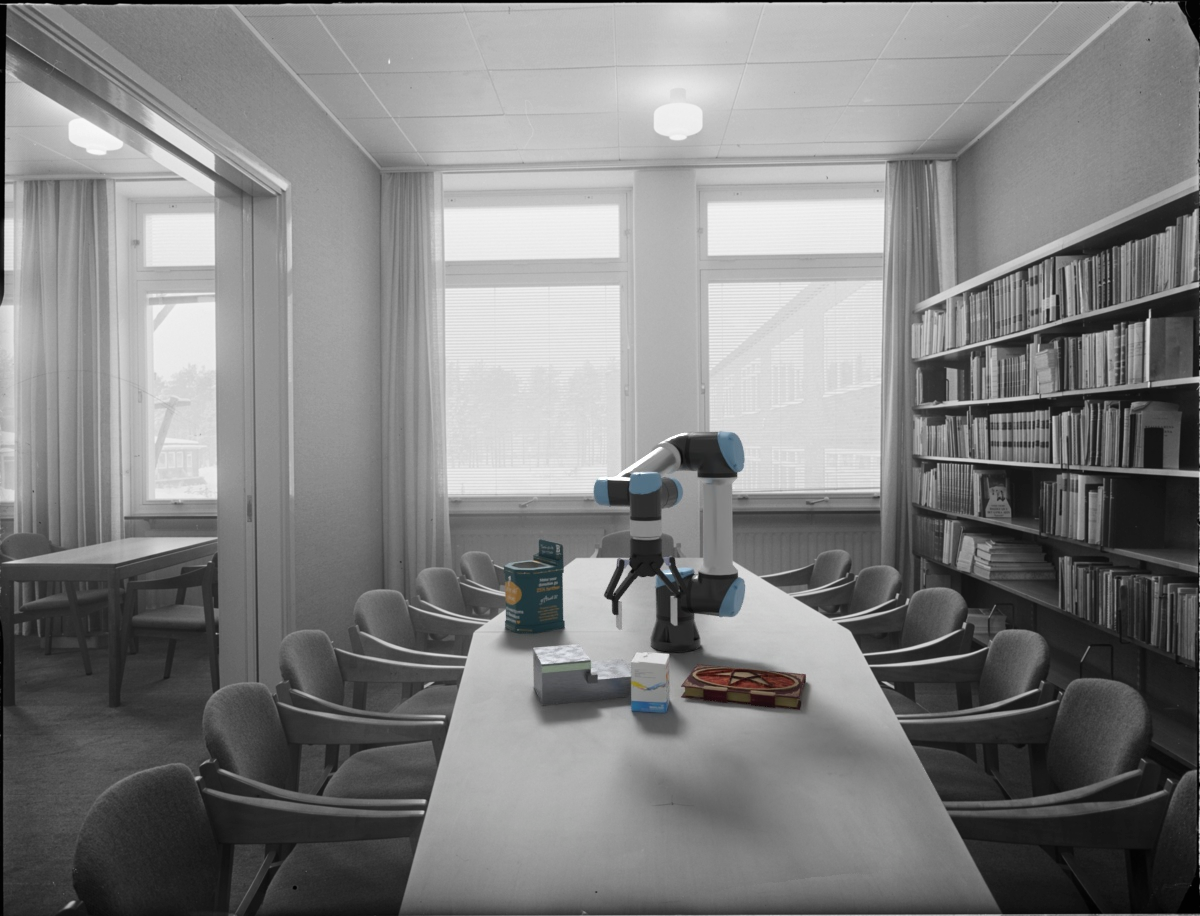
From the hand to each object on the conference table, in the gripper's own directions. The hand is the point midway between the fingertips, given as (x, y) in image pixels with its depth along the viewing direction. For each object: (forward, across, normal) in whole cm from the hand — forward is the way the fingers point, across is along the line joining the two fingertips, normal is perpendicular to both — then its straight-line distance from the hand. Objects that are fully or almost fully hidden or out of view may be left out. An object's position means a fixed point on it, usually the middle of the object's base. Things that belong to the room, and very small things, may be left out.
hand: (646, 626), depth 177 cm
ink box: (+19, -1, 0) cm, 19 cm away
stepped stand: (+19, +12, -12) cm, 26 cm away
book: (+20, -27, -4) cm, 33 cm away
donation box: (+19, +17, -78) cm, 83 cm away
